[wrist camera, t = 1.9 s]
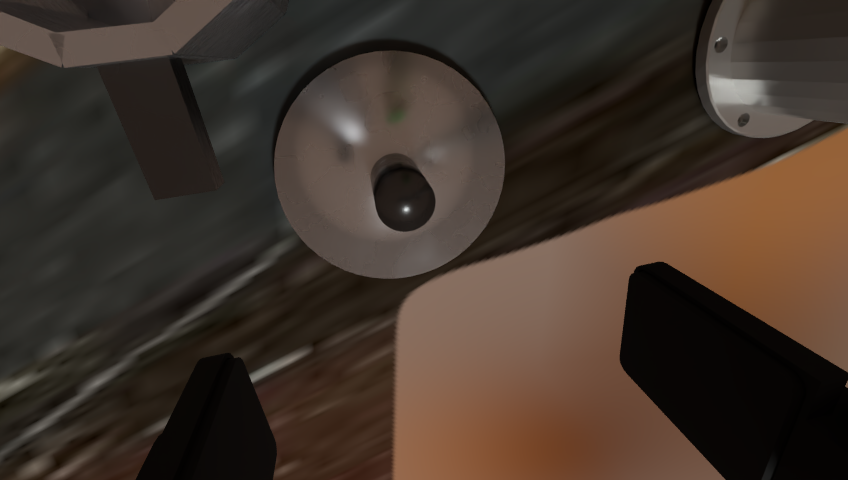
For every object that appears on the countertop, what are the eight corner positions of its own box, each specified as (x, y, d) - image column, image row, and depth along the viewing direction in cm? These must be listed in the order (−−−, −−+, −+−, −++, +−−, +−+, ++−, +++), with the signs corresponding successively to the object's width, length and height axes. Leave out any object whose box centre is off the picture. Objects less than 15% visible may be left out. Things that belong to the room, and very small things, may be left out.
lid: (495, 36, 22) (540, 27, 17) (502, 251, 28) (538, 295, 23) (245, 68, 21) (210, 68, 16) (308, 288, 27) (298, 344, 21)
